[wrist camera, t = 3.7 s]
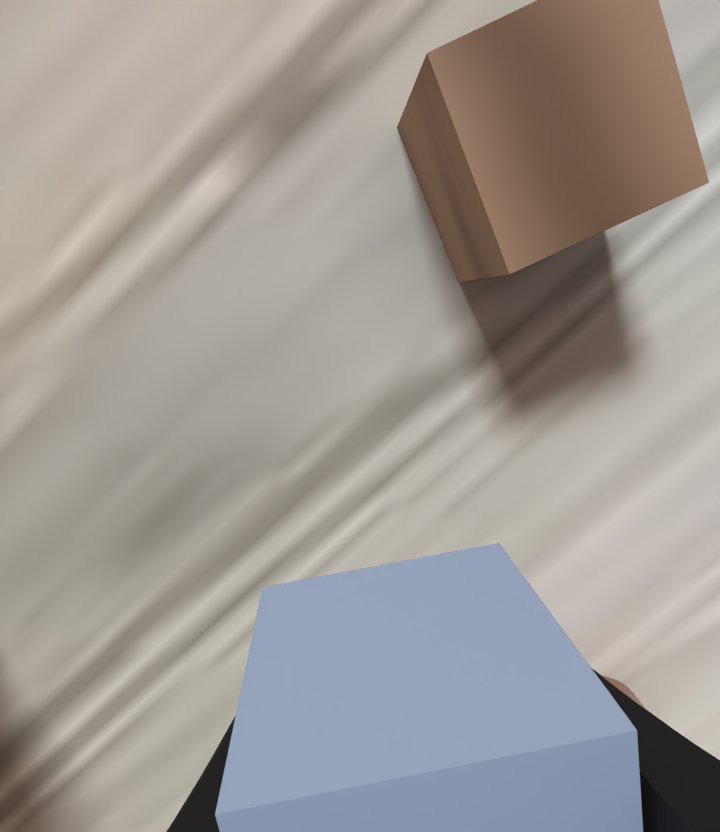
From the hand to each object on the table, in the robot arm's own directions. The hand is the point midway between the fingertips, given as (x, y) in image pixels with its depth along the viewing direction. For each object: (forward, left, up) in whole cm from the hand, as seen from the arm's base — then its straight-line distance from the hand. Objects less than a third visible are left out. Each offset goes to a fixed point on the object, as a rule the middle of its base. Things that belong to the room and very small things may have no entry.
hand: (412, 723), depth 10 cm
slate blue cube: (0, 0, -2) cm, 2 cm away
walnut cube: (-6, -11, -9) cm, 15 cm away
